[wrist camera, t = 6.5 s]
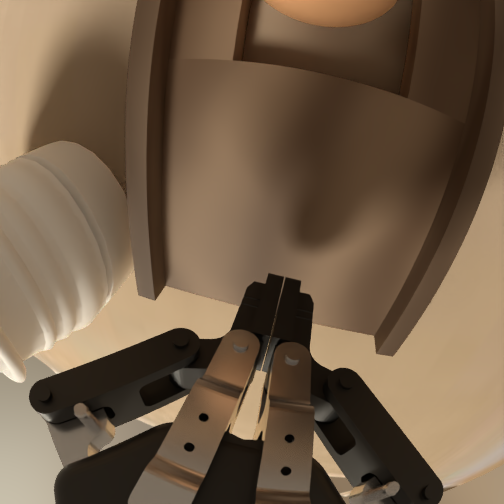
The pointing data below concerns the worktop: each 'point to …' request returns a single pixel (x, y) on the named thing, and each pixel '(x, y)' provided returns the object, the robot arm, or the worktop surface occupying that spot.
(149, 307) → the worktop surface
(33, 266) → the honey pot
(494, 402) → the worktop surface
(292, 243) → the track
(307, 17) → the ball
